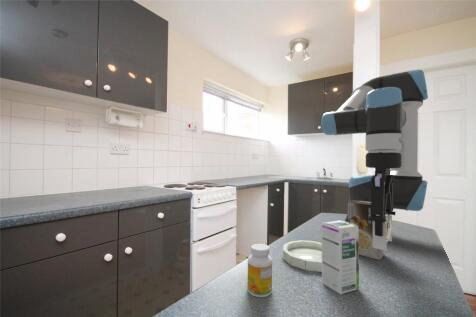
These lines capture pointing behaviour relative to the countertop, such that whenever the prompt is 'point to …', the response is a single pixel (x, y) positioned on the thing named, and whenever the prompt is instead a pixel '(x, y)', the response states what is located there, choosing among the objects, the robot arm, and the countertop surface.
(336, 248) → the syrup box
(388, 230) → the ring
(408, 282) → the countertop surface
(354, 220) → the coffee box
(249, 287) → the supplement bottle
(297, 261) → the ring dish
